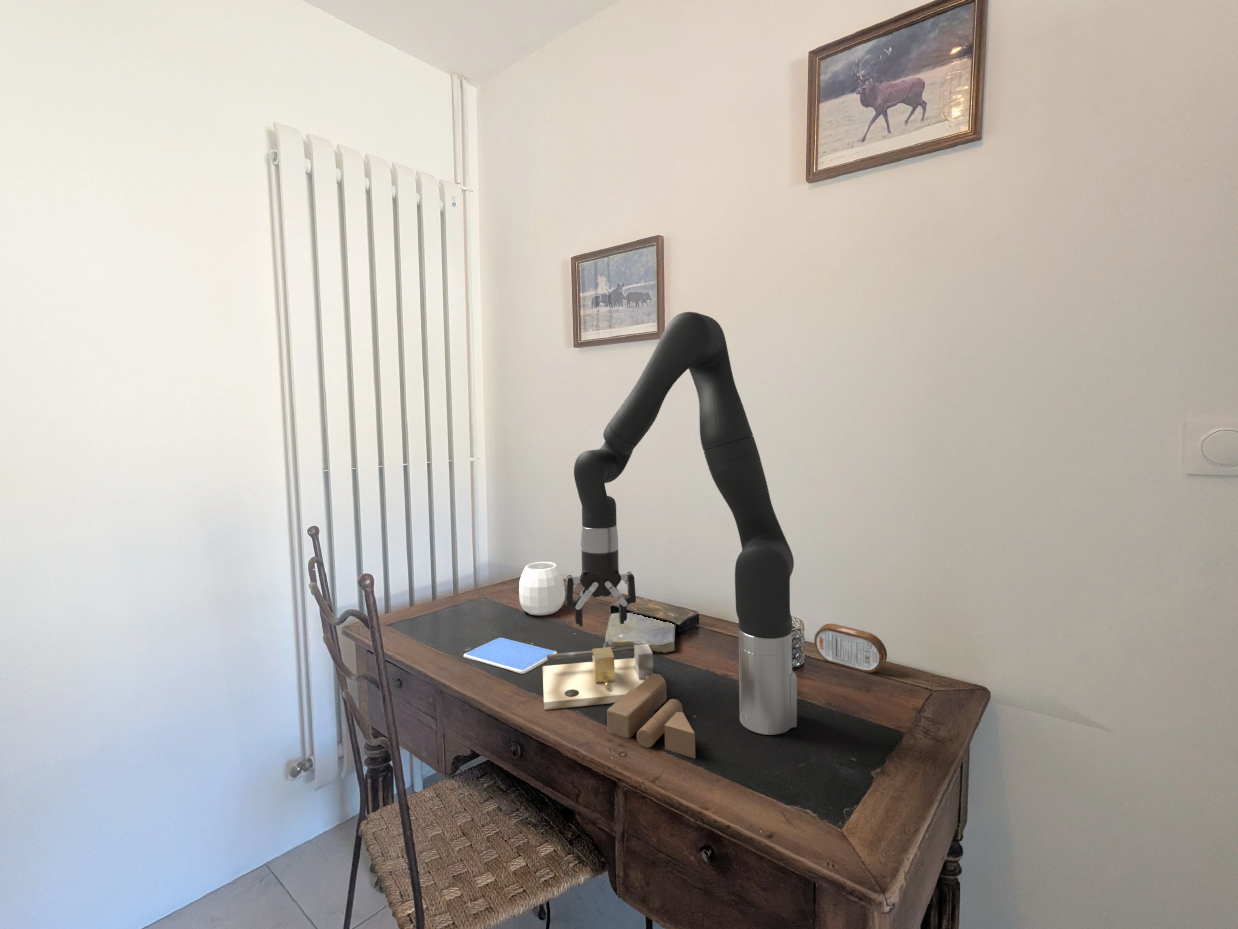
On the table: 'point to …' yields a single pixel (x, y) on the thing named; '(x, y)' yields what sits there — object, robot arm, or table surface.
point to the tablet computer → (510, 655)
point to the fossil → (640, 633)
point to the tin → (850, 647)
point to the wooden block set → (640, 708)
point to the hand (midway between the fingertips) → (601, 624)
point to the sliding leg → (603, 665)
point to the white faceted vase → (541, 588)
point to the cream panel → (578, 683)
